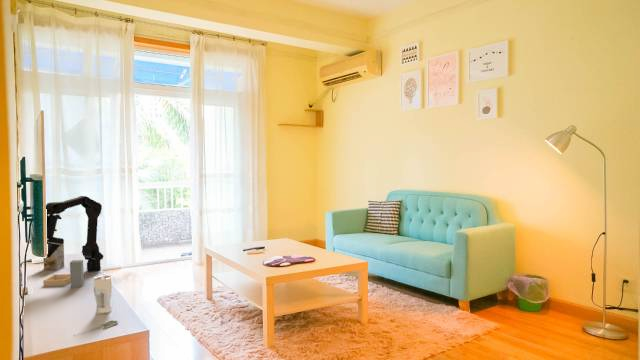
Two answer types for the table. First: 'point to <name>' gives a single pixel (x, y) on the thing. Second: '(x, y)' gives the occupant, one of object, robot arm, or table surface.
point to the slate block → (76, 273)
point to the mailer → (57, 280)
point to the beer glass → (102, 294)
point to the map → (108, 324)
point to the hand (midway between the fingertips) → (41, 256)
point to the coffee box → (55, 259)
